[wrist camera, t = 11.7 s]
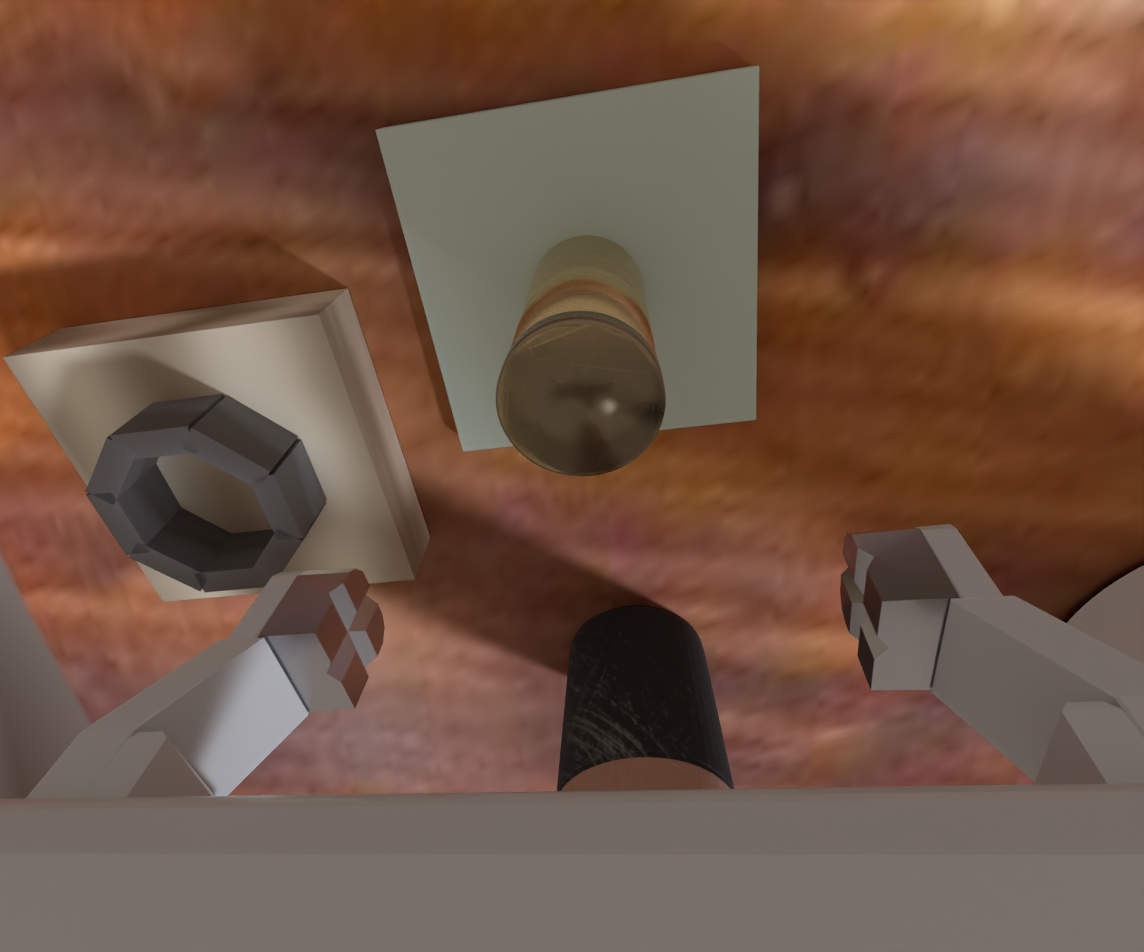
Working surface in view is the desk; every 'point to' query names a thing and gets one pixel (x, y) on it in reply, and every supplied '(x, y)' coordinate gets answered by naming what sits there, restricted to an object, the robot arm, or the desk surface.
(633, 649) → the travel mug
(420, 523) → the beige base with ring
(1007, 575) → the desk surface
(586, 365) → the brass peg
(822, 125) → the desk surface
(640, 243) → the sage pad
